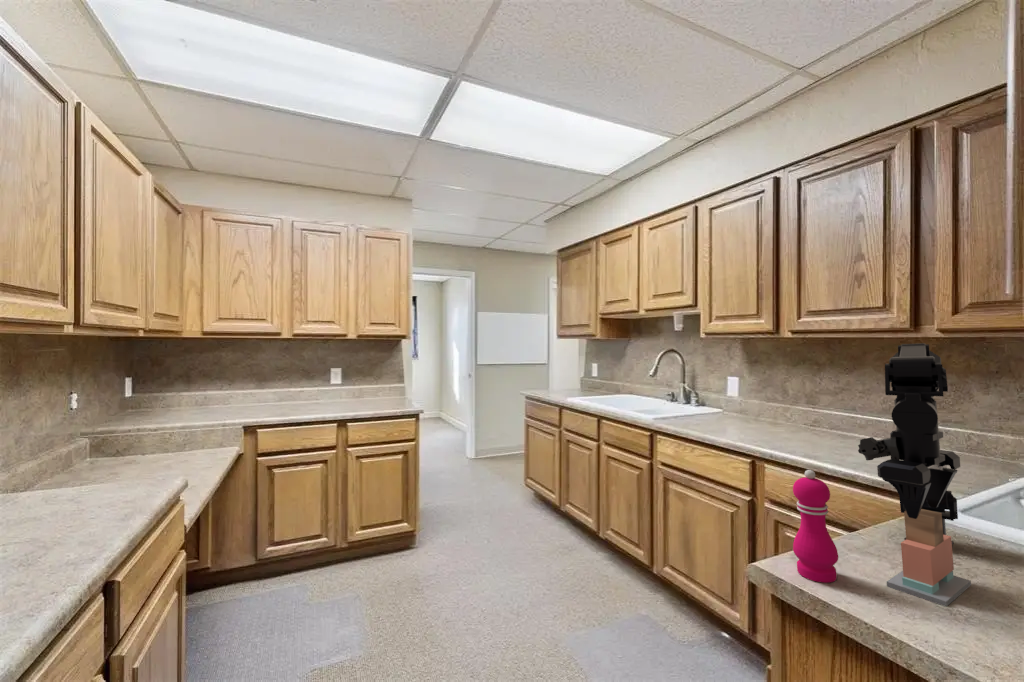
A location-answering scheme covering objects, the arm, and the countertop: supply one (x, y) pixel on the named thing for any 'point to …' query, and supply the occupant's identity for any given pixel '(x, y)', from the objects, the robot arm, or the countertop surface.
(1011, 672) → the countertop surface
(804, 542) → the pepper mill
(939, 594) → the build plate
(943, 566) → the bar
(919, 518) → the block
